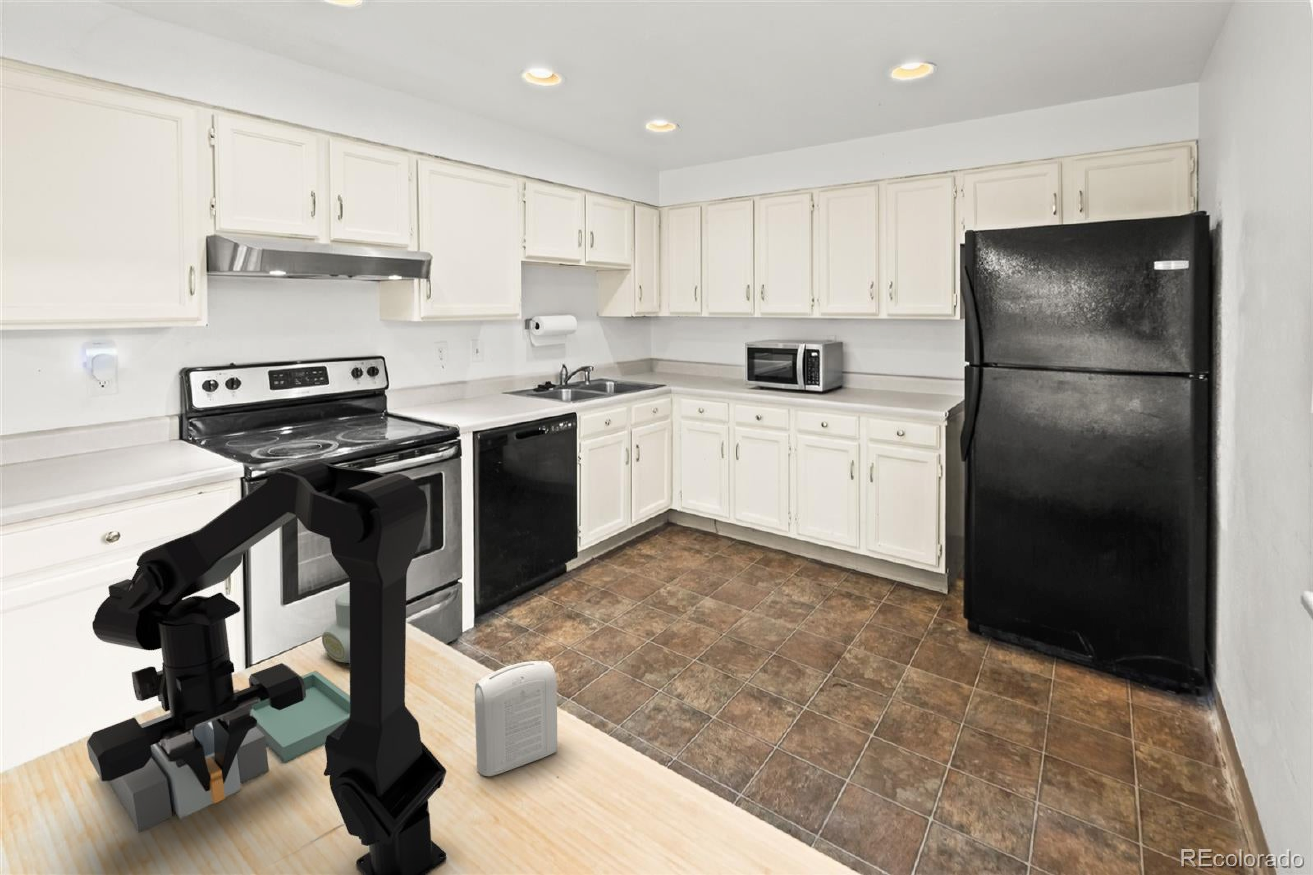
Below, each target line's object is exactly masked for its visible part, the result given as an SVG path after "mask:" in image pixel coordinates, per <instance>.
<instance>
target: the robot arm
mask: <svg viewBox="0 0 1313 875" xmlns="http://www.w3.org/2000/svg"><path fill="white" fill-rule="evenodd" d="M428 507H429V506H428V499H427V495H426V493H425V490H424V489H421V488H420V486H419V485H418V484H417V482H415V480H413V479H412V478H410V477H409V476H408V475H405V474H403V473H390V474H385V473H383V472H379V471H375V470H369V469H362V468H353V467H346V466H345V467H344V466H338V465H336V464H335V465H334V464H331V463H328V462H326V461H322V460H320V461H319V460H317V459H309V460H306V461H302V462H299V463H294V464H291V465H287V466H284V467H280V468H278V469H276V470H275V471H273V473H271V474H270V475H269V476H268V478H266V480H265V481H264V482H262V483H261V484H260V485H258V486H257V487H255V488H254V489H253V490H252V491H250V492H249V493H247V494H246V495H245V496H243V497H242V498H240V499H239V500H238V501H237V502H235V503H234V504H232V505H231V506H230V507H229V508H227V509H225V511H223V512H222V513H220V514H218V515H217V516H216V517H215V518H213V519H212V520H210V521H209V522H208V523H206V524H205V525H203V526H202V527H201V528H199V529H198V530H196V531H193V532H191V533H189V534H186V535H185V534H184V535H182V536H180V537H177V538H175V539H173V540H170V541H166V542H164V543H162V544H159V545H157V546H154V547H152V548H150V549H147V550H145V551H144V552H142V553H141V554H140V556H138V558H137V562H136V566H137V569H136V570H135V572H134V574H133V576H132V578H131V579H129V578H127V579H124V580H120V581H119V582H116V583H113V584H109V586H108V587H107V588H108V594H109V596H108V597H107V598H106V599H105V600H104V601H103V602H101V604H100V606H99V607H97V611H96V613H95V615H94V618H93V621H92V622H91V624H92V630H93V633H94V635H95V636H96V637H97V639H98V640H100V641H102V642H103V643H108V644H112V645H118V646H123V647H128V648H133V649H139V650H144V651H156V650H161V654H162V655H161V656H162V664H161V665H162V666H161V667H162V669H161V670H159V671H157V668H156V667H155V666H148V667H144V668H141V669H137V670H135V671H132V672H131V678H132V686H133V691H134V696H135V698H136V701H140V702H144V701H146V700H149V699H150V700H151V699H152V698H155V697H157V699H158V702H161V708H162V709H163V712H169V713H170V714H171V717H170V718H167V719H165V720H162V721H159V722H157V723H154V724H152V725H149V726H146V727H144V728H142V727H141V726H140V724H141V723H139V721H138V720H137V719H136V718H135V717H132V718H128V719H126V720H123V721H121V722H118V723H116V724H113V725H109V726H107V727H104V728H102V729H98V730H97V731H93V732H92V734H91V735H90V737H89V738H88V739H87V741H86V748H87V754H88V759H89V762H91V764H92V767H93V768H94V770H95V772H96V773H97V774H98V776H99V779H100V780H101V782H109V781H112V780H114V779H117V778H119V777H122V776H124V775H126V774H129V773H131V772H133V771H136V770H138V769H141V768H143V767H144V766H145V765H146V764H147V762H148V761H149V760H150V758H151V757H152V751H151V745H153V744H156V745H157V747H158V748H159V749H160V751H161V752H162V753H163V755H164V756H165V758H166V759H167V760H168V761H169V762H174V761H177V760H179V759H182V760H183V761H184V762H185V763H186V764H187V765H188V766H189V767H190V769H191V770H192V772H193V773H194V775H195V777H196V778H197V780H198V781H199V783H200V784H201V786H202V787H203V789H204V790H205V791H206V792H207V791H209V790H210V777H209V773H208V768H207V764H206V759H205V754H204V750H203V746H202V744H201V743H200V742H199V741H198V740H197V738H196V737H195V736H194V729H195V728H197V727H199V726H202V725H204V724H207V723H209V722H212V726H213V730H214V758H215V763H216V764H217V765H218V766H219V767H220V769H221V770H222V778H223V784H224V783H225V780H226V778H227V775H228V773H229V770H230V768H231V766H232V763H233V761H234V758H235V756H236V753H237V751H238V749H239V748H240V746H241V744H242V742H243V740H244V738H245V737H246V735H247V733H248V731H249V730H250V729H252V728H254V727H256V726H257V720H256V719H255V718H254V717H253V716H252V715H251V710H252V705H254V704H256V703H259V702H261V701H263V700H266V699H268V698H269V705H270V706H271V707H272V708H275V709H277V710H282V709H284V708H287V707H289V706H291V705H294V704H296V703H299V702H301V701H303V700H304V699H305V697H306V690H305V683H304V681H303V678H302V677H301V676H302V675H300V674H298V672H296V671H295V670H293V669H292V668H291V667H290V666H288V665H286V664H284V663H282V662H280V663H278V664H276V665H275V664H274V665H272V666H270V667H268V668H264V669H262V670H259V671H257V672H256V671H255V672H254V673H251V674H250V675H249V677H248V685H249V687H246V688H243V689H241V690H239V689H234V688H235V686H234V681H233V673H235V666H234V662H233V661H232V660H231V655H230V647H229V639H228V631H227V622H226V620H227V619H228V618H229V617H232V616H234V615H237V614H238V613H240V611H241V607H240V605H238V604H237V603H236V602H235V601H234V600H231V599H229V598H228V597H226V596H225V595H224V594H223V592H217V593H216V594H212V595H210V596H202V595H195V594H196V593H199V592H201V591H203V590H206V589H208V588H211V587H214V586H215V585H218V584H220V583H223V582H225V581H226V580H227V579H228V578H229V577H230V576H231V575H232V574H233V573H234V572H235V571H236V570H237V568H238V567H239V566H241V564H242V561H243V555H244V554H245V553H246V552H247V551H249V549H250V548H252V547H254V546H255V545H257V543H259V542H261V541H262V540H264V539H265V538H266V537H267V536H270V535H271V534H272V533H274V532H275V531H276V530H278V529H279V528H281V527H283V526H284V525H285V524H286V523H288V522H290V521H291V520H292V519H294V518H297V519H298V520H299V521H300V523H301V524H302V526H304V528H305V529H306V530H307V531H308V532H311V533H314V534H316V535H319V536H323V537H324V538H326V539H329V545H330V550H331V554H332V556H333V558H334V559H335V561H336V562H337V563H338V565H339V566H340V567H341V568H342V570H343V571H344V572H345V574H346V575H347V576H348V582H349V583H348V585H349V586H348V588H349V590H348V591H349V613H350V663H349V695H350V716H349V719H347V720H346V721H345V722H344V723H343V724H341V725H340V726H339V727H338V728H336V729H335V730H334V731H333V732H331V733H330V734H329V735H328V736H327V737H326V742H325V744H324V749H325V756H326V757H325V758H326V765H325V769H324V772H323V776H324V777H327V776H329V780H328V781H329V787H330V791H331V794H332V796H333V799H334V801H335V803H336V806H337V808H338V810H339V813H340V815H341V818H342V820H343V823H344V826H345V828H346V830H347V833H348V834H349V835H350V836H353V837H358V840H360V843H361V846H365V847H368V849H369V851H367V853H365V854H363V855H361V856H360V857H358V858H357V859H356V861H355V866H356V868H357V869H358V870H359V872H360V873H361V874H362V875H428V873H430V872H431V871H433V870H434V869H435V868H437V867H439V866H440V865H441V864H443V863H444V862H446V861H447V853H446V851H444V849H442V848H441V847H440V846H438V845H437V843H435V842H434V841H433V840H432V832H431V830H432V829H431V816H430V815H431V814H430V811H429V799H430V798H432V796H433V795H434V794H435V792H437V790H438V789H440V788H441V787H442V786H443V783H444V780H445V777H446V775H447V769H446V768H445V766H444V765H443V764H442V763H441V761H439V760H438V758H437V757H436V756H435V754H433V753H432V752H431V750H430V749H429V748H428V747H427V746H426V745H425V743H424V742H423V741H422V738H421V732H420V725H419V721H418V720H417V718H416V717H415V716H414V715H413V714H412V712H411V710H409V709H408V708H407V706H406V702H405V701H406V648H407V647H406V645H407V644H406V642H407V640H406V637H407V632H406V631H407V630H406V629H407V579H408V578H407V575H408V570H409V567H410V565H411V563H412V561H413V559H414V557H415V555H416V552H417V550H418V548H419V546H420V544H421V542H422V541H423V540H422V539H423V536H424V531H425V525H426V520H427V516H428Z"/></svg>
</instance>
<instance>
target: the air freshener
mask: <svg viewBox="0 0 1313 875" xmlns="http://www.w3.org/2000/svg"><path fill="white" fill-rule="evenodd" d="M334 603H335V604H334V605H335V617H336V619H335V620H334V622H332V623H330V625H328V627H326V629H325V630H324V632H323V633H322V635H321V644H322V646H323V648H324V650H325V651H326V653H327V655H328V656H329V657H331V659H332V660H334V661H336V662H339V663H345V664H346V663H347V664H348V663H349V664H350V613H349V590H348V591H345V592H343V593H341V594H339V595H338V596H337V597H336V598H335V600H334Z"/></svg>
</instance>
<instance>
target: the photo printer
mask: <svg viewBox="0 0 1313 875" xmlns="http://www.w3.org/2000/svg"><path fill="white" fill-rule="evenodd" d="M557 688H558V681H557V675H556V672H555V668H554V665H553V664H551V663H550V662H549V661H545V660H534V661H533V660H531V661H524V662H518V663H515V664H511V665H508V666H505V667H502V668H500V669H498V670H495V671H493V672H492V673H489V674H488V675H486V676H484V677H483V678H481V679H479V680H478V681H477V682H476V684H475V686H474V719H475V724H474V725H475V748H476V750H475V751H476V770H477V771H478V772H477V773H479V774H480V775H482V776H485V777H492V776H496V775H500V774H503V773H506V772H507V771H511V770H513V769H516V768H518V767H519V768H520V767H522V766H524V765H527V764H530V763H532V762H535V761H538V760H541V759H543V758H546V757H548V756H551V755H553V754H555V753H556V752H557V751H558V745H559V744H558V689H557Z"/></svg>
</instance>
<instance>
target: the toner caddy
mask: <svg viewBox="0 0 1313 875" xmlns="http://www.w3.org/2000/svg"><path fill="white" fill-rule="evenodd" d="M194 736H195V737H196V738H197V740H199V741H202V742H203V743H204V751H205V759H206V764H207V768H208V773H209V777H210V790H209V791H207V792H206V791H205V790H204V789H203V787H202V786H201V784H200V783H199V781H198V780H197V778H196V777H195V775H194V773H193V772H192V770H191V769H190V767H189V766H188V765H184V766H182V767H180V768H178V767H177V766H176V761H174V762H169V761H168V760H167V759H166V758H165V756H164V755H163V753H162V752H161V751H160V749H159V748H158V747H157V745H156V744H153V745H151V751H152V759H153V760H154V762H155V763H156V764H157V766H158V767H159V769H160V770H161V771H162V773H163V774H164V776H165V777H166V778H167V783H168V790H169V797H170V804H171V809H173V811H174V813H175V814H176V815H177V818H179V820H182V819H183V818H186V817H188V816H190V815H192V814H193V813H195V812H198V811H201V810H202V809H204V808H206V807H209V806H210V805H212V804H216V803H218V802H221V801H224V800H225V799H226V797H229V796H231V795H234V794H235V793H238V792H240V791H241V790H242V786H241V785H242V783H240V775H239V767H238V758H237V753H236V756H235V758H234V761H233V763H232V766H231V768H230V770H229V773H228V775H227V778H226V780H225V783H224V784H223V778H222V770H221V769H220V767H219V766H218V765H217V764H216V763H215V758H214V730H213V726H212V722H209V723H207V724H204V725H202V726H199V727H197V728H195V729H194Z"/></svg>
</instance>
